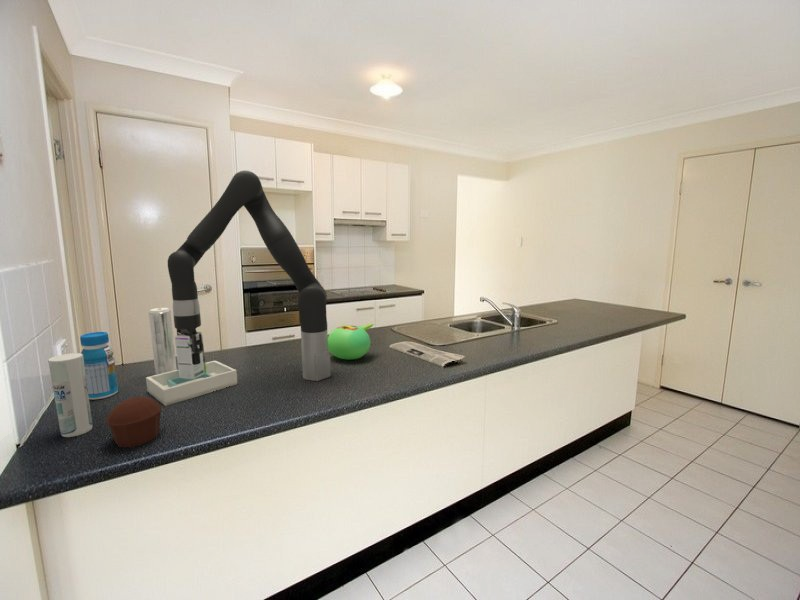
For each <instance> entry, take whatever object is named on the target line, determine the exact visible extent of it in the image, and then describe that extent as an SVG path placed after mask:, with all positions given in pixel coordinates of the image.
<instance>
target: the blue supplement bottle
mask: <svg viewBox="0 0 800 600" xmlns="http://www.w3.org/2000/svg"><path fill="white" fill-rule="evenodd" d="M79 339H80V340H79V341H80V345H81V347H83V349H82V350H81V352H80V353H81V354H82V355H83V359H84V367H85V374H86V381H87V389H88V396H89V400H93V401H94V400H100V399H102V400H103V399H106V398H110V397H112V396H114V395H115V394H118V392H119V387H118V379H117V372H116V360H115V358H114V356H113V355H114V350H113V349H112V348H111V347H110V346H109V341H110V339H109V334H108V332H107V331H95V332H94V331H93V332H88V333H84V334H81V335H80V337H79Z"/></svg>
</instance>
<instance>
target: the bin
mask: <svg viewBox="0 0 800 600" xmlns="http://www.w3.org/2000/svg"><path fill="white" fill-rule="evenodd" d="M205 365H206V373H205V374H203V375H201V376H199V377H197V378H195V379H184V378H180V377H179V370H178V369H177V370H174V371H170V372H166V373H162V374H158V375H156V374H154V375H151V376H147V377H145V380H146V390H147V393H148V392H149V395H151V396H152V397H153V398H155V399H156V400H157V401H159V402H160V403H161V404H163V406H165V407H168V406H171V405H174V404H177V403H181V402H183V401H187V400H190V399H194V398H198V397H200V396H204V395H206V394H210V393H214V392H216V390H217V391H220V390H224V389H226V387H227V388H229V386H230V387H232V386H237V385H238V373H237V371H238V370H237V369H235V368H233V367H230V366H228V365H226V364H224V363H222V362H220V361H218V360H212V361H207V362H205ZM213 391H214V392H213Z"/></svg>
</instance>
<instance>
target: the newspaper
mask: <svg viewBox="0 0 800 600" xmlns="http://www.w3.org/2000/svg"><path fill="white" fill-rule="evenodd" d="M390 348H392V349H391V350H393V349H395V350H394V351H396V350H398V351H400V352H399V353H401V352H403V353H402V354H404V353H406V354H408V355H407V356H409V355H411V356H410V357H412V356H414V357H413V358H415V357H417V358H420V359H422V360H421V361H423V360H425V361H428V362H431V363H434V364H437V365H439V366H442V367H443V366H444V365H445V364H446V365H447V364H449V363H453V362H452V361H457V362H460V363H461V362H462V359H464V358H465V355H462V354H457V353H453V352H447V351H442V350H440V349H434V348H432V347H429V346H426V345H423V344H420V343H418V342H414V341H406V340H405V341H399V342H395V343H392V344H390V345H389V349H390ZM398 351H397V352H398ZM406 354H405V355H406ZM417 358H416V359H417ZM420 359H419V360H420ZM425 361H424V362H425ZM428 362H427V363H428ZM431 363H430V364H431ZM434 364H433V365H434ZM439 366H438V367H439ZM442 367H441V368H442Z"/></svg>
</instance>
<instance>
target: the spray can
mask: <svg viewBox="0 0 800 600" xmlns="http://www.w3.org/2000/svg"><path fill="white" fill-rule="evenodd" d="M48 367H49V373H50V379H51V385H52V390H53V391H52V392H53V396H54V403H55V407H56V415H57V419H58V425H59V426H58V427H59V430H60V431H59V432H60V435H61V436H62V437H64V438H71V437H77V436H80V435H84V434H86V433H88V432H89V431H92V429H93V419H92V412H91V406H90V404H91V403H90V399H89V396H88V389H87V381H86V374H85V367H84V359H83V355H82V354H81V352H80V353H79V352H77V353H76V352H73V353H72V352H71V353H65V354H60V355H56V356H52V357H50V358H48Z"/></svg>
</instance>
